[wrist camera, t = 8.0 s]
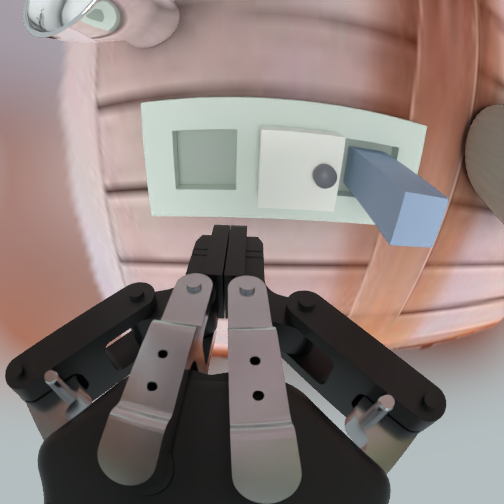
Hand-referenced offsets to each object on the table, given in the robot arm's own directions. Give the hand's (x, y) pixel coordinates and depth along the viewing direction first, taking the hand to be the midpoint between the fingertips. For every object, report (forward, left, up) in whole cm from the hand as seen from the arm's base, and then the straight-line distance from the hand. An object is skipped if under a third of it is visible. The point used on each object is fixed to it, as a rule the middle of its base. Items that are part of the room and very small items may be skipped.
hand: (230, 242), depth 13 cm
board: (0, +4, -17) cm, 17 cm away
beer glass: (-15, -10, -17) cm, 24 cm away
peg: (0, +12, -16) cm, 20 cm away
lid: (0, +5, -14) cm, 15 cm away
